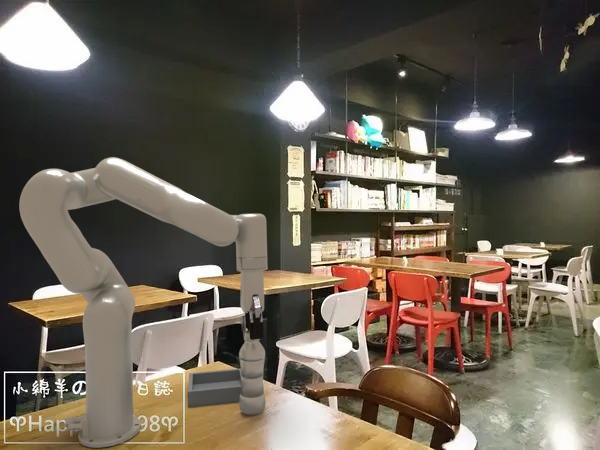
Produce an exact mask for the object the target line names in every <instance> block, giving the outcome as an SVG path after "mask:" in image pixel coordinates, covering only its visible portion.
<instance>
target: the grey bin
mask: <svg viewBox="0 0 600 450" xmlns="http://www.w3.org/2000/svg"><path fill="white" fill-rule="evenodd" d="M241 376H242V375H241V367H240V368H231V369H219V370H208V371H199V372H197V371H196V372H189V373H188V386H187V408H197V407H198V408H199V407H205V406H206V407H207V406H215V405H223V404H224V405H225V404H235V403H239V398H240V393H241V381H242V379H241Z"/></svg>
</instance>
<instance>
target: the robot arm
mask: <svg viewBox="0 0 600 450" xmlns="http://www.w3.org/2000/svg"><path fill="white" fill-rule="evenodd" d="M24 185H25V186H24V187H23V188H22V191H21V194H20V197H19V204H18V205H19V208H18V209H19V214H20V219H21V221H22V223H23V225H24V227H25V228H24V229H26V231H27V232H28V234H29V236H30V237H31V239H32V240H33V242H34V244H35V245H36V246H37V247H38V249H39V251H40V253H41V254H42V256H43V257H44V259H45V260H46V262H47V263H48V265H49V267H50V268H51V269H52V271H53V273H54V274H55V275H56V277H57V279H58V280H59V282H60V283H61V285H62V286H63V288H65V289H66V290H67V291H68V292H70V293H74V294H78V295H82V297H83V298H84V299H85V301H86V302H87V305H86V307H85V308H84V312H83V316H82V331H83V340H84V341H83V343H84V355H85V357H84V359H85V360H84V361H85V362H84V364H85V365H84V366H85V414H82V415H81V416H72V417H66V418H65V421H64V427H65V428H67V431H68V432H70V431H71V432H72V431H76V430H79V432H78V442H79V444H81V445H82V446H83V447H87V448H92V449H93V448H95V449H97V448H98V449H100V448H101V449H103V448H109V447H112V446H116V445H120V444H122V443H125V442H126V441H129V440H130V439H132V438H134V437H135V436H136V435H137V434H138V433H139V432H140V430H141V428H142V427H141V424H142V423H141V420H140V419H139V418H138V417H137V416H135V415H134V374H133V372H134V371H133V370H134V369H133V368H134V367H133V365H134V364H133V333H132V332H133V331H132V329H133V327H132V325H133V323H132V321H133V315H134V312H135V310H136V309H135V308H136V300H135V297H134V294H133V291H132V290H131V289H130V287H129V285H128V284H127V283H126V282H125V280H124V278H123V277H122V275H121V274H120V272H119V271H118V269H117V268H116V266H115V264H114V263H113V262H112V260H111V259H110V258H109V256H108V255H107V254H106V253H105V252H103V251H102V250H101V249H97V248H95V247H92V246H91V245H90V244H89V242H88V241H87V239H86V238H85V237H84V235H83V233H82V232H81V230H80V229H79V226H78V225H77V224H76V222H74V220H73V219H72V218H71V215H70V213H69V210H76V209H80V208H84V207H89V206H92V205H98V204H101V203H106V202H110V201H114V200H118V201H120V202H122V203H124V204H126V205H128V206H131V207H133V208H134V209H137V210H138V211H140V212H143V213H145V214H147V215H149V216H151V217H153V218H155V219H157V220H159V221H161V222H164V223H167V224H171V225H173V226H176V227H177V228H180V229H182V230H183V231H185V232H188V233H190V234H193V235H195V236H196V237H198V238H200V239H202V240H204V241H206V242H208V243H210V244H213V245H215V246H218V247H227V246H229V245H232V244H233V243H234V242H235V249H236V250H235V251H236V252H235V254H236V255H235V256H236V272H240V279H239V280H240V301H239V302H240V303H239V304H240V308H241V310H242V312H243V313H244V328H245V330H248V329H249V330H250V339H251V340H255V339H260V340H262V339H264V321H263V312H264V310H265V282H264V281H265V280H264V272H265V271H267V270H268V269H269V267H268V265H269V264H268V240H267V239H268V238H267V236H268V235H267V233H268V232H267V218H266V216H265V215H264V214H262V213H241V214H238V215H237V214H229V213H227V212H226V211H224V210H222V209H219V208H217V207H216V206H213V205H212V204H210V203H208V202H206V201H204V200H202V199H200V198H197V197H195V196H194V195H192V194H190V193H188V192H186V191H184V190H183V189H182V188H180V187H178V186H175V185H174V184H172V183H170V182H167V181H165V180H164V179H162V178H160V177H158V176H155V175H154V174H152V173H150V172H148V171H146V170H144V169H143V168H140V167H139V166H136V165H134V164H133V163H131V162H129V161H127V160H125V159H122V158H119V157H115V156H111V157H107V158H104V159H102V160H101V161H99V163H98V164H97V165H96V166H95V167H94V168H88V169H83V170H78V171H74V172H69V171H67V170H64V169H60V168H47V169H43V170H41V171H40V170H39V172H37V173H36V174H34V175H33V176H32V177H31V178H30V179H28V181H27V182H26V184H24Z"/></svg>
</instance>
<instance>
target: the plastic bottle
mask: <svg viewBox="0 0 600 450" xmlns="http://www.w3.org/2000/svg"><path fill="white" fill-rule="evenodd" d="M243 340H244V341H245V342H244V343H243V344H242V346H241V348H240V349H239V352H238V356H239V357H238V358H239V364H240V368H241V375H242V376H241V379H242V381H241V393H240V398H239V402H238V405H239V410H240V411H241V413H242V414H243V415H247V416H256V415H259V414H261V413H262V412H263V411H264V410H265V407H266V402H267V401H266V394H265V390H264V365H265V359H266V358H265V357H266V350H265V348H264V346H263V345H262V344H261V342H260V340H261V339H255V340H251V339H250V330H248V329H246V330H245V331H244V337H243Z"/></svg>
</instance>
